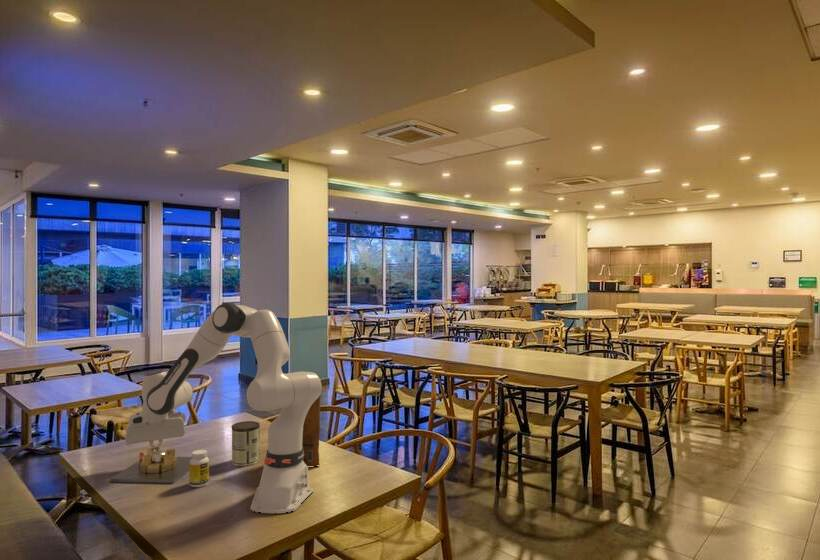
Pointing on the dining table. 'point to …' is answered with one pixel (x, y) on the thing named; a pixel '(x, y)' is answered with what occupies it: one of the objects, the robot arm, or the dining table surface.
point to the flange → (137, 476)
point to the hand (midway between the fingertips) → (156, 451)
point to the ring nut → (166, 463)
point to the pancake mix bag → (312, 434)
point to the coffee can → (245, 443)
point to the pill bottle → (199, 469)
